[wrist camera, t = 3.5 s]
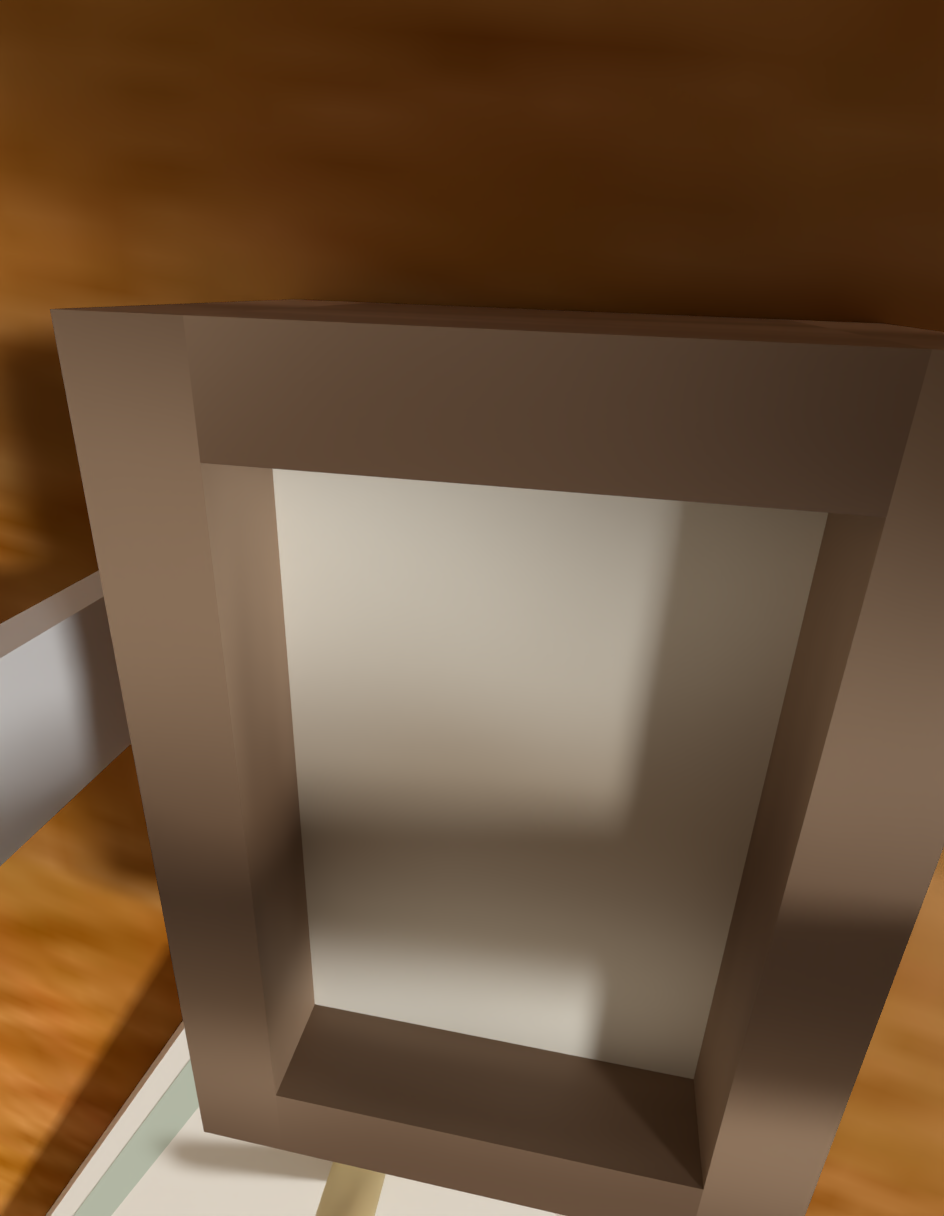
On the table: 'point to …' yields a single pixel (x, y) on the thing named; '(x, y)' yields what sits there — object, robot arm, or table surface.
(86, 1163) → the board with pegs
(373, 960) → the frame
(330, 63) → the table surface
